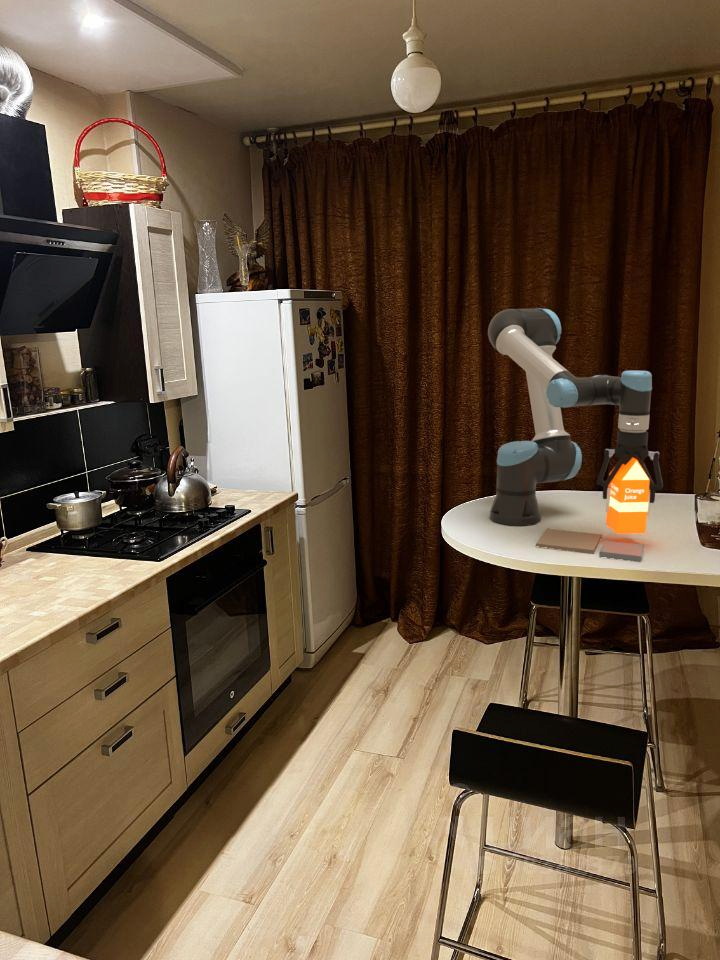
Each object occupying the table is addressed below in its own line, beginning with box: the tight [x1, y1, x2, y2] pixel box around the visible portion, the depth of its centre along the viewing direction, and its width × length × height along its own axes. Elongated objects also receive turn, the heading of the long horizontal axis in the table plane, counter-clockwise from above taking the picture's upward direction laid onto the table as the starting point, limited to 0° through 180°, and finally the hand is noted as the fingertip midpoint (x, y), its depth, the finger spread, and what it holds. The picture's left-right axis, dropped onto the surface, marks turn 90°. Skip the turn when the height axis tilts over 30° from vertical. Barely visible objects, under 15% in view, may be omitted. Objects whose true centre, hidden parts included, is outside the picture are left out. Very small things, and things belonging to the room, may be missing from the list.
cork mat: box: [535, 528, 603, 555], centre depth 200 cm, size 15×15×1 cm
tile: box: [598, 540, 645, 563], centre depth 190 cm, size 10×2×10 cm
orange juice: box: [605, 457, 650, 535], centre depth 195 cm, size 8×9×20 cm
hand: (627, 512), depth 197 cm, fingers closed on orange juice, 9 cm apart
